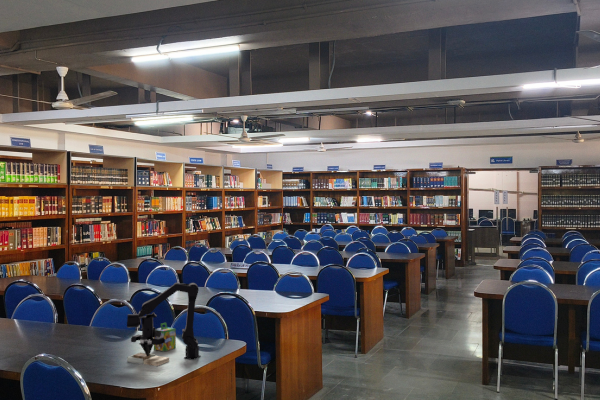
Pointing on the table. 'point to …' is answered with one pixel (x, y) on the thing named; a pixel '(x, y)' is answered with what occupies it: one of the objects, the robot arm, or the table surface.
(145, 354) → the tile
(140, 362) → the tray
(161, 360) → the beige square slab
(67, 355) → the table surface
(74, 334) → the table surface
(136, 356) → the tile
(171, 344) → the chalk box
